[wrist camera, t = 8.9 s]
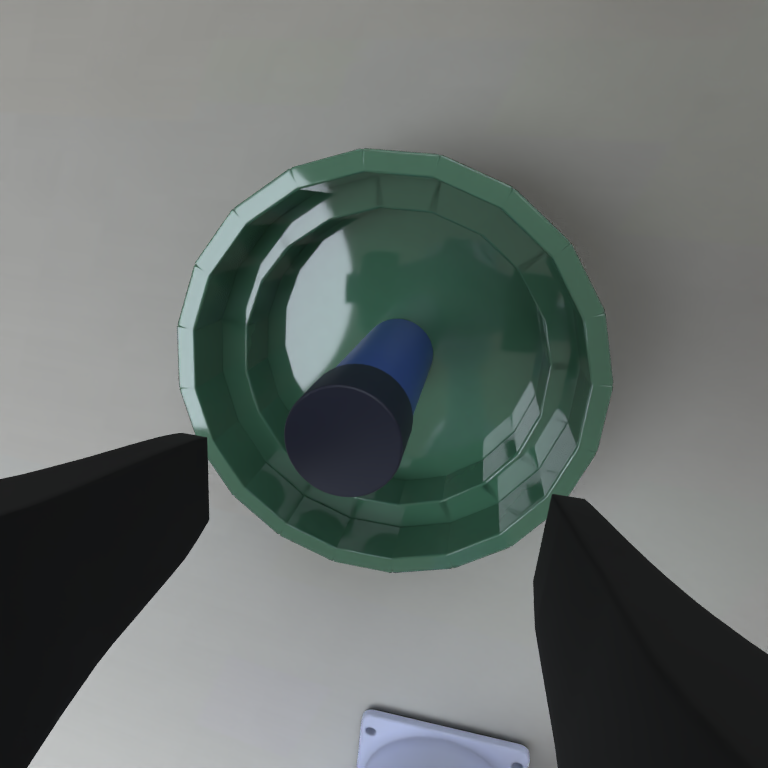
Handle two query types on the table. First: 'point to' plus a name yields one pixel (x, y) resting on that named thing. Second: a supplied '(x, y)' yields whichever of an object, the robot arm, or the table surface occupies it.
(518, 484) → the bowl
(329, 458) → the marker
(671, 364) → the table surface
